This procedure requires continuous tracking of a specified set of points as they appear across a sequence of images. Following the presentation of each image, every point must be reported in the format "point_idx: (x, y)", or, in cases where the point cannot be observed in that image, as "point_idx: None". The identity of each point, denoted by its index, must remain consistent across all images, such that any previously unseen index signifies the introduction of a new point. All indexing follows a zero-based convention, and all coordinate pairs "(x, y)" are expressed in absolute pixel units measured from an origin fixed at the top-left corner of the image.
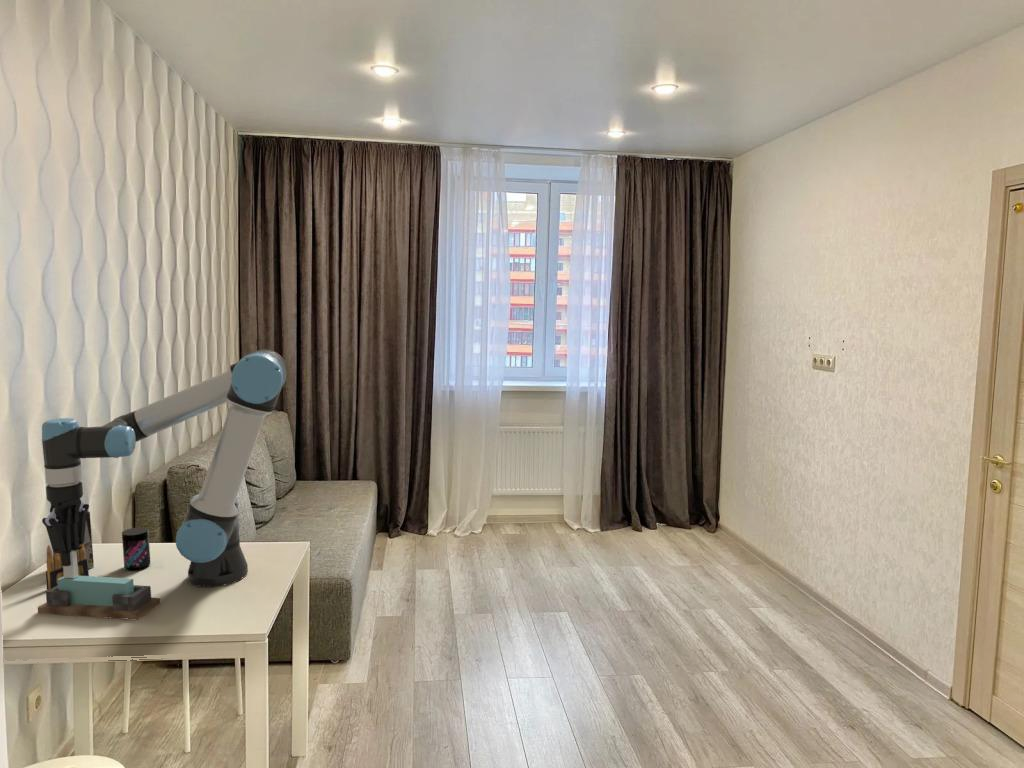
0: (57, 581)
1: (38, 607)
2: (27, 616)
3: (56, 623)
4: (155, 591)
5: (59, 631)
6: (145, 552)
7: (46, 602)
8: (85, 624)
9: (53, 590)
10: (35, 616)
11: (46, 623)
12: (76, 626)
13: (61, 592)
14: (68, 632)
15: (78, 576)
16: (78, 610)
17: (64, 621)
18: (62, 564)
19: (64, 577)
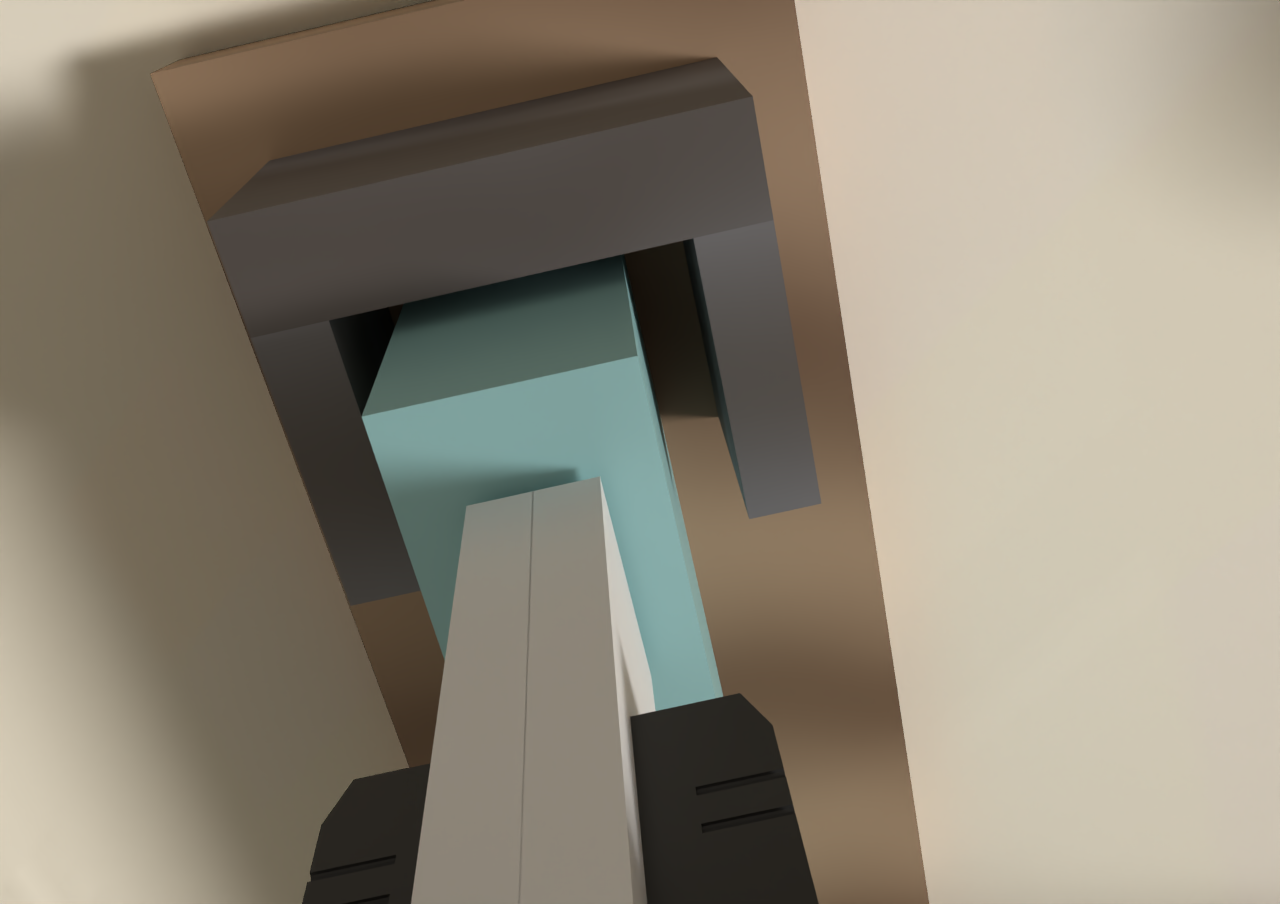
0: (367, 406)
1: (158, 89)
2: (25, 7)
3: (124, 584)
4: (1225, 843)
5: (22, 780)
6: None
7: (337, 42)
8: (280, 866)
9: (314, 310)
10: (94, 130)
11: (54, 477)
12: (199, 829)
13: (327, 514)
14: (64, 871)
15: (661, 654)
16: (384, 686)
17: (209, 620)
18: (333, 831)
19: (470, 516)
